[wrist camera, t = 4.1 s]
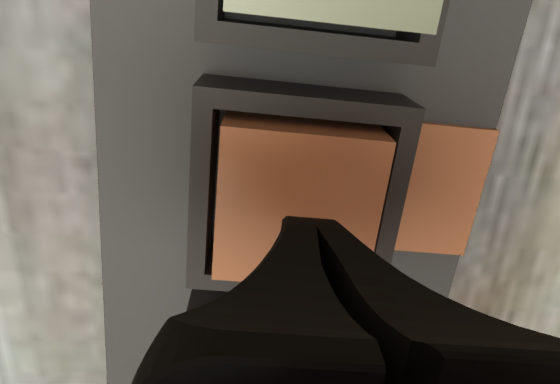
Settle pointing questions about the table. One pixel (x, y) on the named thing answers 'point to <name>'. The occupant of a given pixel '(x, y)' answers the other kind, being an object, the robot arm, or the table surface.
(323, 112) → the control board
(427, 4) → the sage button
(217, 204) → the terracotta button
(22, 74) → the table surface
